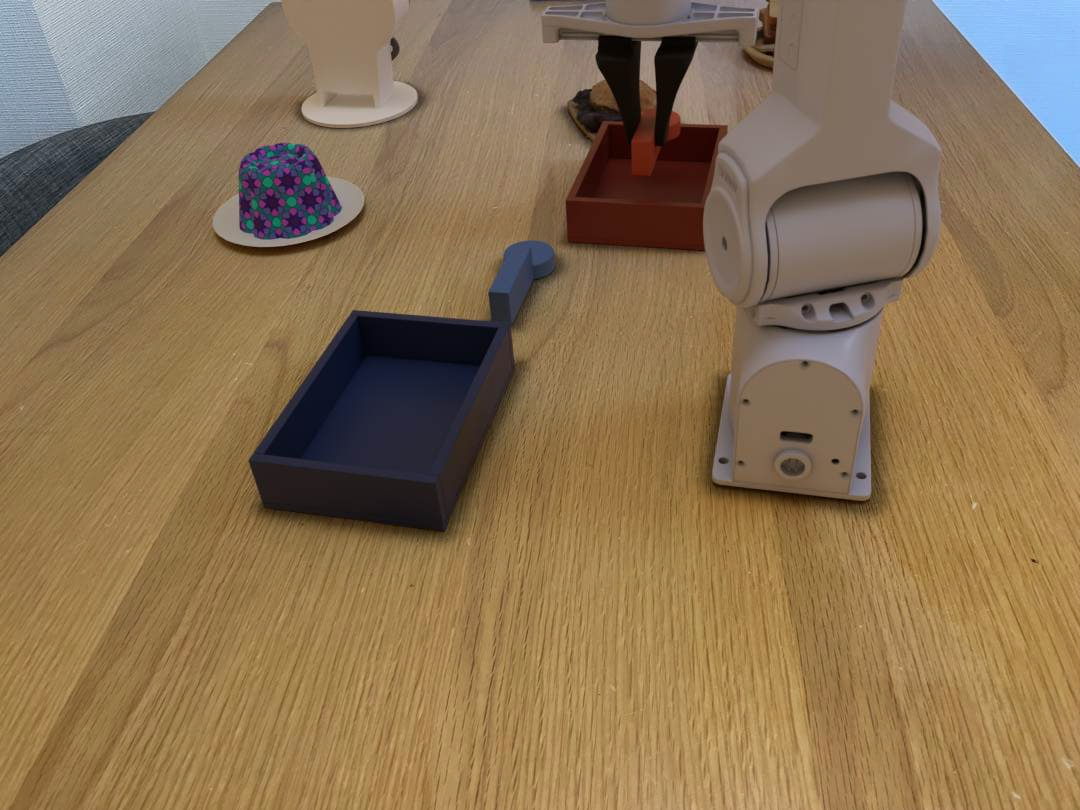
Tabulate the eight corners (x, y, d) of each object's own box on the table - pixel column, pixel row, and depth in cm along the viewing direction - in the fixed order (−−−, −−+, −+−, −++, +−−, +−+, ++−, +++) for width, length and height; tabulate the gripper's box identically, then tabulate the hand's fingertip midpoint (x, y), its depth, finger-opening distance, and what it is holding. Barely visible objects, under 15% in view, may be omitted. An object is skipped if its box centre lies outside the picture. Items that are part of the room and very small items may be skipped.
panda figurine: (439, 84, 100) (418, -77, 91) (400, 130, 91) (372, -42, 82) (330, 81, 103) (299, -76, 93) (282, 125, 94) (242, -42, 85)
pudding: (296, 269, 73) (279, 204, 69) (182, 236, 78) (162, 174, 75) (396, 199, 80) (385, 138, 77) (287, 173, 86) (272, 115, 82)
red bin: (706, 250, 71) (708, 207, 69) (567, 241, 73) (565, 200, 71) (725, 164, 81) (727, 124, 79) (603, 159, 84) (602, 120, 82)
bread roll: (561, 109, 93) (558, 70, 91) (646, 94, 94) (645, 56, 92) (595, 153, 85) (593, 111, 83) (687, 136, 86) (688, 95, 84)
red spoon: (666, 176, 71) (666, 142, 69) (616, 174, 72) (615, 140, 70) (683, 124, 78) (683, 92, 76) (637, 122, 79) (637, 90, 77)
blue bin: (444, 531, 51) (435, 483, 48) (263, 507, 53) (247, 460, 51) (515, 368, 61) (510, 322, 59) (362, 353, 64) (352, 309, 61)
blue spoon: (528, 328, 65) (525, 294, 63) (475, 323, 65) (471, 290, 64) (559, 256, 72) (557, 224, 70) (511, 253, 72) (508, 221, 71)
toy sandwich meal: (732, 73, 97) (735, 23, 94) (750, 27, 107) (753, -19, 104) (865, 78, 94) (872, 27, 91) (871, 31, 104) (878, -17, 101)
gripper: (766, -76, 66) (752, 121, 74) (553, -73, 69) (563, 115, 77) (759, -46, 60) (744, 162, 69) (528, -45, 64) (542, 153, 72)
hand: (647, 140), depth 73 cm, fingers closed on red spoon
